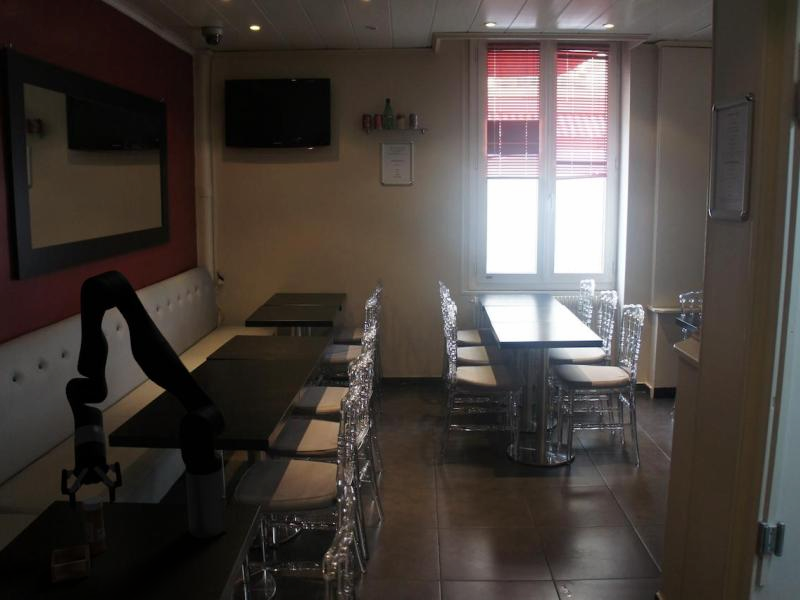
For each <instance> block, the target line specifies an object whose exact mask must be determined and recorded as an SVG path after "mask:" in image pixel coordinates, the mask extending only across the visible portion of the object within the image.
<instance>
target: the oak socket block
mask: <svg viewBox="0 0 800 600" xmlns="http://www.w3.org/2000/svg"><path fill="white" fill-rule="evenodd" d="M50 561H51V562H50V573H51V581H52V584H56V583H61V582H67V581H71V580H77V579H81V578H82V577H83V578H86V577H85V576H88V577H91V554H90V552H89V544H87V543H86V544H83V545H82V544H80V545H75V546H72V547H71V546H70V547H64V548H59V549H54V550H52V552H51V560H50Z"/></svg>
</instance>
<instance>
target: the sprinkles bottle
mask: <svg viewBox="0 0 800 600" xmlns="http://www.w3.org/2000/svg"><path fill="white" fill-rule="evenodd" d="M103 507H104V502H103V498H102V497H100V496H95V495H94V496H90V497H86V498H85V499H83V500H82V509H83V515H84V516H83V517H84V521H83V522H84V532H85V539H86V540H85V541H86V545H87V544H89V552H90V555H98V554H101V553H103V552H104V551H105V550H106V549H107V545H106V544H107V543H106V531H105V522H104V511H103Z"/></svg>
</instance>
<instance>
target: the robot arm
mask: <svg viewBox="0 0 800 600" xmlns="http://www.w3.org/2000/svg"><path fill="white" fill-rule="evenodd" d="M79 298H80V330H81V331H80V332H81V336H80V337H81V341H80V346H79V347H80V348H79V352H78V361H77V365H76V370H77V372H78V374H79V375H81V376H82V377H73V378H70V380H69V381H68V382H66V386H65V396H66V400H67V402H68V404H69V407H70V409H71V412H72V415H73V416H72V417H73V422H74V437H73V445H74V446H73V449H74V467H73V469H68V470H67V469H66V468H63V469H62V470H61V474H60V475H61V476H60V477H61V481H60V491H61V495H63V496H68V500H69V501H68V502H69V507H70V509H72V510H73V511H75V510H77V496H76V493H77V492H78V491H79V490H80V489H81V488H82V487H83V485H84V486H89V485H92V484H94V485H96V484H98V485H99V483H102V484H103V485H104V486H106V487H107V488H108V493H109V495H108V496H109V497H108V498H109V505H113V504H114V502H116V489H117V488H120V487H121V488H122V486H123V478H122V470H121V465H120V462H119V461H115V463H111V464H108V462H107V448H106V445H107V444H106V436H105V432H104V416H103V412H102V410H101V409H100V408H98V407H95V406H91V405H92V404H93V405H94V404H95V405H96V404H102V403H103V402H104V401H105V400H106V399H107V397H108V393H109V391H108V390H109V389H108V384H107V383H108V382H107V378H106V369H107V368H106V365H107V361H108V357H109V342H108V338H107V336H106V335H105V333H104V331H103V327H102V326H103V325H102V323H103V320H104V317H105V314H106V312H107V311H109V310H111V309H114V308H116V309H117V311H118V312H119V313H120V314H121V315H122V317H123V319H124V320H125V322H126V324H127V327H128V332H129V342H130V343H129V344H130V350H131V354H132V357H133V359H134V361H135V362H136V364H137V365H138V367H139V368H140V369H141V370H142V372H143V373H144V375H145V376H146V377H147V378H148V380H150V381H152V382H153V384H155V385H157V386H158V387H160V388H162V389H163V390H165V391H166V392H168V393H169V394H171V395H172V396H174V398H176V399H177V401H179V403H180V404H181V405H182V407H183V408H184V409H185V410H186V412H187V413H186V414H185V415H184V416H182V417H181V420H180V422H179V428H178V436H179V439H178V440H179V446H180V447H179V448H180V454H181V459H182V462H183V464H184V466H185V479H186V480H185V482H186V483H185V484H186V495H187V496H186V498H187V500H186V501H187V510H188V511H187V513H188V517H187V518H188V528H189V529H188V530H189V534H190V536H192V537H194V538H198V539H206V538H207V539H208V538H214V537H217V536H220V535H221V534H222V533H225V532H226V533H227V532H228V520H227V519H228V518H227V502H226V501H227V499H226V496H225V489H224V488H225V487H224V486H225V485H224V472H223V466H224V465H223V457H222V455H221V454H220V453H218V452H216V451H215V447H214V446H215V445H214V440H215V439H217V438H218V437H219V436H221V434H223V433H224V431H225V429H226V417H225V415H224V413H223V411H222V410H221V408H220V407H219V406H218V405H217V403H216V402H215V401H214V399H212V398H211V397H210V395H208V392H206V391H205V389H204V388H202V386H201V385H200V384H199V383H198V381H197V380H196V379H195V378H194V376H193V375H192V374H191V372H190V371H189V369H188V368H187V367H186V365H185V364H184V363H183V361H182V359H181V358H180V357H179V355H178V353H177V352H176V351H175V349H174V348H173V346H172V345H171V344H170V342H169V341H168V339H166V337H165V336H164V335H163V333H162V332H161V331H160V329H159V328H158V326H157V324H156V323H155V321H154V319H153V318H152V317H151V316H150V315H149V312H148V311H147V309H146V308H145V306H144V305H143V303H142V301H141V298H140V297H139V296H138V294H137V292H136V290H135V289H134V287H133V285H132V284H131V282H130V281H129V279H128V278H127V277H126V275H124V274H123V273H122V272H120V271H118V270H114V269H113V270H108V271H104V272H102V273H99V274H96V275H93V276H90V277H89V278H87V279H85V280H84V281H83V283H82V284H81V288H80V297H79ZM89 404H91V405H89ZM110 470H111V472H112V473H113V474H114V473H115V478H116V480H115V481H113V480H111V478H110V477H109V476H108V475H107V474H108V472H109V471H110ZM72 476H74V477H75V478H76V479H75V480H74V482H73V484H72V485H71V486H70V488H69V487H68V480H70V479H71V478H72Z"/></svg>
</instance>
